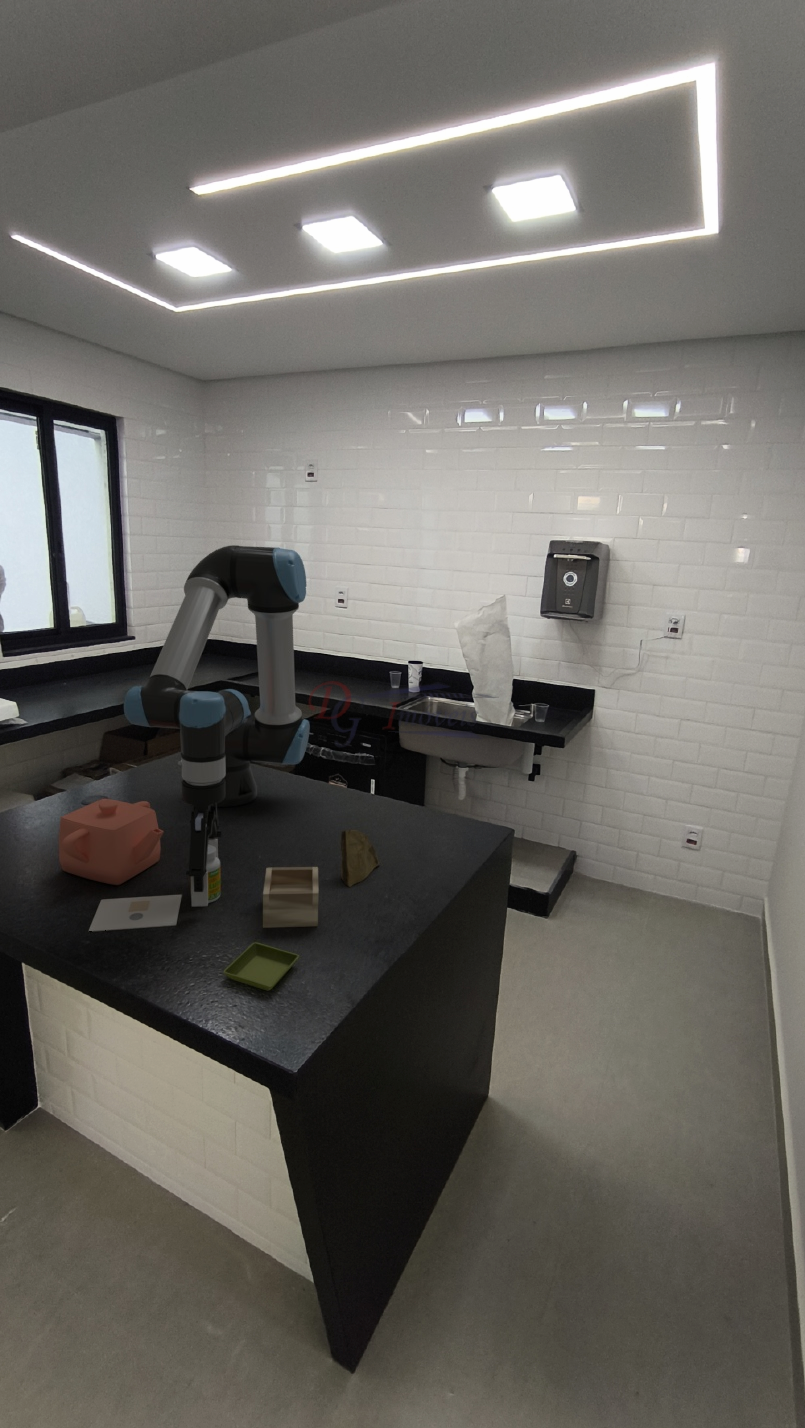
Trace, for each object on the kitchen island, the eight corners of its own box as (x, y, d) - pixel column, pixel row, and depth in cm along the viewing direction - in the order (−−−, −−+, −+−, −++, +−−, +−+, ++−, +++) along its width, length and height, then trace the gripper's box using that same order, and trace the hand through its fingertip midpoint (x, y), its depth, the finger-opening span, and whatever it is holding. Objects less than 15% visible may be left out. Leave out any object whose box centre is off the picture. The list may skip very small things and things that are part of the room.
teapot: (36, 883, 122) (30, 816, 118) (122, 838, 142) (119, 779, 139) (120, 908, 116) (116, 837, 112) (197, 857, 136) (196, 795, 132)
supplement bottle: (212, 906, 118) (211, 858, 116) (185, 901, 119) (183, 853, 116) (225, 891, 123) (225, 845, 121) (199, 887, 124) (198, 841, 122)
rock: (371, 845, 141) (329, 847, 136) (387, 826, 135) (343, 826, 130) (383, 892, 134) (339, 895, 130) (400, 873, 129) (354, 876, 124)
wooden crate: (266, 898, 121) (266, 867, 120) (317, 897, 123) (317, 866, 121) (262, 927, 112) (263, 894, 111) (317, 926, 114) (318, 893, 112)
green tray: (221, 983, 98) (221, 971, 98) (254, 952, 106) (254, 941, 106) (271, 999, 95) (271, 987, 95) (300, 966, 103) (300, 955, 103)
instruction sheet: (101, 900, 118) (101, 899, 118) (181, 895, 121) (181, 894, 121) (88, 931, 108) (88, 930, 108) (176, 925, 111) (176, 924, 111)
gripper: (193, 756, 126) (195, 856, 132) (167, 805, 103) (171, 924, 108) (232, 757, 127) (233, 855, 133) (215, 805, 104) (217, 922, 109)
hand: (205, 886), depth 120 cm, fingers open, 12 cm apart
